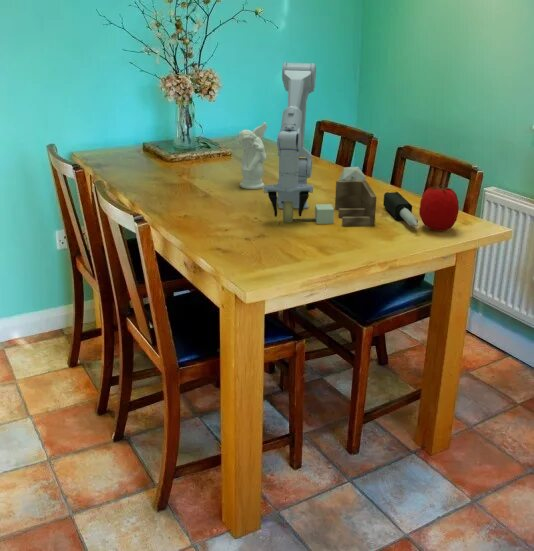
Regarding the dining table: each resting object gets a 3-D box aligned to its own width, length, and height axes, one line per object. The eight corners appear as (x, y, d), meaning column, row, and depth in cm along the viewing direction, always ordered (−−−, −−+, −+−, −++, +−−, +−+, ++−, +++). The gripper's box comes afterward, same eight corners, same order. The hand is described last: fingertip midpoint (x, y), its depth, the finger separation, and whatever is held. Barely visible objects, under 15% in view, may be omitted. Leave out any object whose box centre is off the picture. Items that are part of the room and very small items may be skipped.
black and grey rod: (383, 207, 222) (407, 234, 199) (384, 192, 220) (409, 217, 197) (398, 206, 222) (424, 233, 200) (399, 191, 220) (426, 216, 198)
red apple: (440, 239, 196) (445, 194, 190) (408, 227, 205) (411, 183, 199) (467, 231, 202) (472, 187, 197) (434, 219, 211) (439, 177, 206)
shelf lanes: (342, 226, 205) (344, 197, 202) (334, 208, 221) (336, 180, 217) (374, 225, 206) (376, 196, 202) (364, 207, 221) (366, 180, 218)
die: (333, 191, 241) (340, 173, 233) (342, 174, 245) (349, 156, 237) (354, 200, 240) (362, 184, 232) (363, 183, 244) (371, 166, 236)
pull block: (283, 224, 206) (283, 205, 204) (282, 218, 211) (282, 200, 209) (333, 223, 207) (334, 204, 205) (331, 218, 212) (331, 199, 209)
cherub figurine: (246, 191, 237) (245, 127, 228) (226, 183, 246) (225, 121, 237) (274, 186, 244) (275, 123, 235) (254, 178, 253) (254, 117, 244)
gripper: (264, 175, 199) (264, 220, 204) (314, 174, 199) (313, 219, 205) (263, 168, 205) (263, 212, 211) (312, 168, 206) (310, 212, 211)
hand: (287, 215), depth 208 cm, fingers open, 7 cm apart
